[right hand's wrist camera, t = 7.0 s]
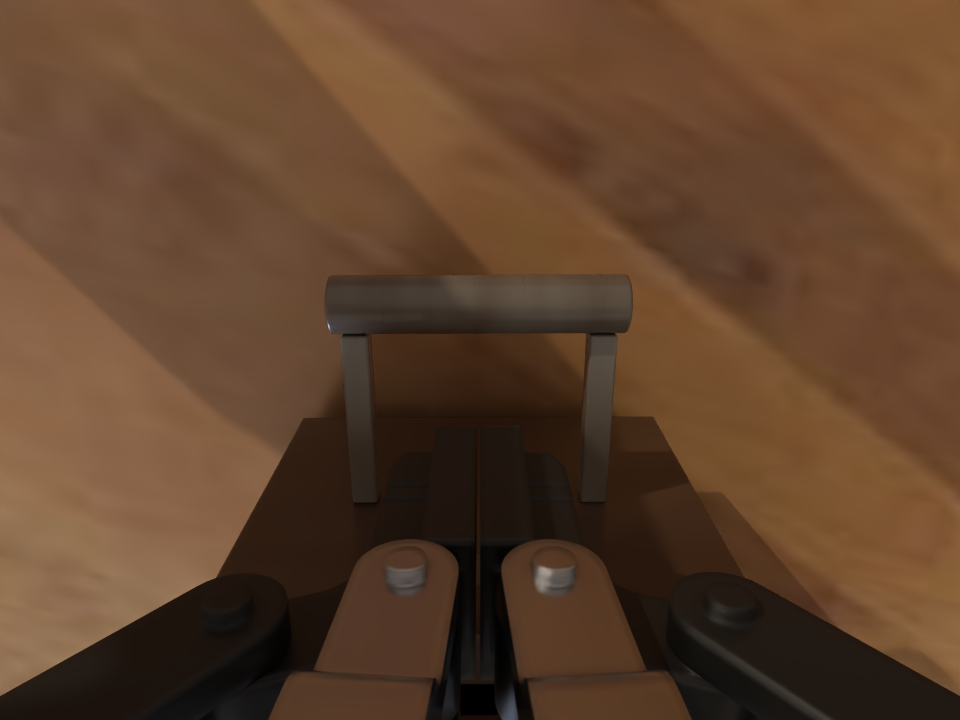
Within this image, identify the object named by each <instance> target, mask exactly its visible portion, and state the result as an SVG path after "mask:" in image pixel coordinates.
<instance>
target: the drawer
mask: <svg viewBox="0 0 960 720" xmlns="http://www.w3.org/2000/svg"><path fill="white" fill-rule="evenodd" d="M632 310H633V295H632V286H631V282H630V279H629V277H628V276H627V275H333V276H330V277H329V278H328V281H327V284H326V289H325V316H326V322H327V326H328V329H329V331H330V333H332V334H342V336H341V338H340V342H341V355H342V368H343V381H344V394H345V407H346V418H304V419H303V421H302V422H301V424H300V426H299V428H298V430H297V431H296V433H295V435H294V437H293V439H292V441H291V442H290V444H289V446H288V448H287V450H286V451H285V453H284V455H283V457H282V459H281V461H280V462H279V464H278V466H277V468H276V470H275V471H274V473H273V475H272V477H271V479H270V481H269V482H268V484H267V486H266V488H265V490H264V491H263V493H262V495H261V497H260V499H259V501H258V502H257V504H256V506H255V508H254V510H253V511H252V513H251V515H250V517H249V519H248V521H247V522H246V524H245V526H244V528H243V530H242V531H241V533H240V535H239V537H238V539H237V541H236V542H235V544H234V546H233V548H232V550H231V551H230V553H229V555H228V557H227V559H226V561H225V562H224V564H223V566H222V568H221V570H220V572H219V573H218V575H217V577H216V578H219V577H222V576H226V575H232V574H240V573H254V574H261V575H265V576H268V577H271V578H273V579H275V580H277V581H278V582H279V583H280V584H281V585H282V586H283V587H284V589H285V590H286V593H287V597H288V599H291V598H295V597H300V596H304V595H309V594H313V593H317V592H321V591H325V590H327V589H330V588H333V587H335V586H337V585H339V584H341V583H343V582H345V581H346V580H348V579H349V578H350V576H351V574H352V571H353V569H354V567H355V565H356V563H357V561H358V560H359V559H360V558H361V557H362V556H363V555H364V554H365V553H366V552H368V551H370V547H371V543H372V539H373V535H374V531H375V527H376V523H377V519H378V515H379V511H380V507H381V503H382V502H383V495H384V491H385V487H386V483H387V479H388V475H389V471H390V468H391V466H392V465H393V464H394V463H395V462H396V461H398V460H399V459H400V458H401V457H402V456H403V455H404V454H405V453H406V452H433V444H434V437H435V430H436V425H476V434H477V547H476V670H475V680H461V695H460V714H461V715H499V714H498V711H497V709H496V705H495V688H494V680H480V426H520V427H521V435H522V442H523V450H524V453H551V454H552V455H553V456H554V457H556V458H557V459H558V460H559V461H560V462H561V463H562V464H563V465H564V466H565V467H566V470H567V475H568V479H569V483H570V487H571V491H572V495H573V502H574V504H575V508H576V512H577V516H578V520H579V525H580V529H581V533H582V537H583V541H584V545H585V548H587V549H589V550H590V551H592V552H594V553H595V554H596V555H597V556H598V557H599V558H600V559H601V560H602V561H603V563H604V565H605V567H606V569H607V571H608V574H609V576H610V579H611V581H612V583H613V584H615V585H617V586H619V587H622V588H624V589H627V590H630V591H633V592H637V593H641V594H645V595H650V596H654V597H659V598H663V599H668V600H669V599H670V593H671V590H672V588H673V586H674V585H675V584H676V583H677V582H678V581H679V580H680V579H682V578H684V577H686V576H688V575H691V574H694V573H700V572H723V573H728V574H733V575H737V576H741V577H743V578H744V576H743V574H742V572H741V570H740V569H739V567H738V565H737V563H736V562H735V560H734V558H733V556H732V555H731V553H730V551H729V549H728V548H727V546H726V544H725V542H724V541H723V539H722V537H721V535H720V534H719V532H718V530H717V528H716V527H715V525H714V523H713V521H712V520H711V518H710V516H709V514H708V513H707V511H706V509H705V507H704V505H703V504H702V502H701V500H700V498H699V497H698V495H697V493H696V491H695V490H694V488H693V486H692V484H691V483H690V481H689V479H688V477H687V476H686V474H685V472H684V470H683V469H682V467H681V465H680V463H679V462H678V460H677V458H676V456H675V455H674V453H673V451H672V449H671V448H670V446H669V444H668V442H667V440H666V439H665V437H664V435H663V433H662V432H661V430H660V428H659V426H658V425H657V423H656V421H655V419H654V418H653V417H612V407H613V393H614V379H615V365H616V352H617V335H616V334H615V333H625V332H627V331H628V329H629V327H630V324H631V319H632ZM487 333H586V349H585V367H584V386H583V404H582V417H464V418H376V407H375V391H374V374H373V358H372V341H371V334H487Z"/></svg>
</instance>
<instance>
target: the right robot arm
mask: <svg viewBox="0 0 960 720" xmlns="http://www.w3.org/2000/svg"><path fill="white" fill-rule="evenodd" d="M476 547H477V434H476V425H436V430H435V437H434V444H433V452H406V453H405V454H404V455H403V456H402V457H401V458H400V459H399V460H398V461H396V462H395V463H394V464H393V465H392V466H391V468H390V471H389V475H388V479H387V483H386V487H385V491H384V495H383V502H382V503H381V507H380V511H379V515H378V519H377V523H376V527H375V531H374V535H373V539H372V543H371V547H370V551H368V552H366V553H365V554H364V555H363V556H362V557H361V558H360V559H359V560H358V561H357V563H356V565H355V567H354V569H353V571H352V574H351V576H350V578H349V579H348V580H346V581H345V582H343V583H341V584H339V585H337V586H335V587H333V588H330V589H327V590H325V591H321V592H317V593H313V594H309V595H304V596H300V597H295V598H291V599H288V597H287V593H286V590H285V589H284V587H283V586H282V585H281V584H280V583H279V582H278V581H277V580H275V579H273V578H271V577H268V576H265V575H261V574H254V573H240V574H232V575H226V576H222V577H219V578H215V579H213V580H210V581H207V582H205V583H203V584H201V585H199V586H197V587H195V588H193V589H192V590H190V591H188V592H186V593H184V594H183V595H181V596H179V597H177V598H175V599H174V600H172V601H170V602H168V603H166V604H165V605H163V606H161V607H159V608H157V609H156V610H154V611H152V612H150V613H149V614H147V615H145V616H143V617H141V618H140V619H138V620H136V621H134V622H132V623H131V624H129V625H127V626H125V627H123V628H122V629H120V630H118V631H116V632H114V633H113V634H111V635H109V636H107V637H106V638H104V639H102V640H100V641H98V642H97V643H95V644H93V645H91V646H89V647H88V648H86V649H84V650H82V651H80V652H79V653H77V654H75V655H73V656H71V657H70V658H68V659H66V660H64V661H63V662H61V663H59V664H57V665H55V666H54V667H52V668H50V669H48V670H46V671H45V672H43V673H41V674H39V675H37V676H36V677H34V678H32V679H30V680H28V681H27V682H25V683H23V684H21V685H20V686H18V687H16V688H14V689H12V690H11V691H9V692H7V693H5V694H3V695H2V696H0V720H461V714H460V695H461V680H475V670H476ZM480 680H494V688H495V705H496V709H497V711H498V714H499V720H960V696H958V695H957V694H955V693H953V692H951V691H949V690H948V689H946V688H944V687H942V686H940V685H939V684H937V683H935V682H933V681H932V680H930V679H928V678H926V677H924V676H923V675H921V674H919V673H917V672H915V671H914V670H912V669H910V668H908V667H906V666H905V665H903V664H901V663H899V662H897V661H896V660H894V659H892V658H890V657H889V656H887V655H885V654H883V653H881V652H880V651H878V650H876V649H874V648H872V647H871V646H869V645H867V644H865V643H863V642H862V641H860V640H858V639H856V638H854V637H853V636H851V635H849V634H847V633H846V632H844V631H842V630H840V629H838V628H837V627H835V626H833V625H831V624H829V623H828V622H826V621H824V620H822V619H820V618H819V617H817V616H815V615H813V614H811V613H810V612H808V611H806V610H804V609H803V608H801V607H799V606H797V605H795V604H794V603H792V602H790V601H788V600H786V599H785V598H783V597H781V596H779V595H777V594H776V593H774V592H772V591H770V590H768V589H767V588H765V587H763V586H761V585H759V584H757V583H755V582H753V581H751V580H749V579H746V578H743V577H741V576H737V575H733V574H728V573H723V572H700V573H694V574H691V575H688V576H686V577H684V578H682V579H680V580H679V581H678V582H677V583H676V584H675V585H674V586H673V588H672V590H671V593H670V599H669V600H668V599H663V598H659V597H654V596H650V595H645V594H641V593H637V592H633V591H630V590H627V589H624V588H622V587H619V586H617V585H615V584H613V583H612V581H611V579H610V576H609V574H608V571H607V569H606V567H605V565H604V563H603V561H602V560H601V559H600V558H599V557H598V556H597V555H596V554H595V553H594V552H592V551H590V550H589V549H587V548H585V545H584V541H583V537H582V533H581V529H580V525H579V520H578V516H577V512H576V508H575V504H574V502H573V495H572V491H571V487H570V483H569V479H568V475H567V470H566V467H565V466H564V465H563V464H562V463H561V462H560V461H559V460H558V459H557V458H556V457H554V456H553V455H552V454H551V453H524V450H523V442H522V435H521V427H520V426H480Z"/></svg>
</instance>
